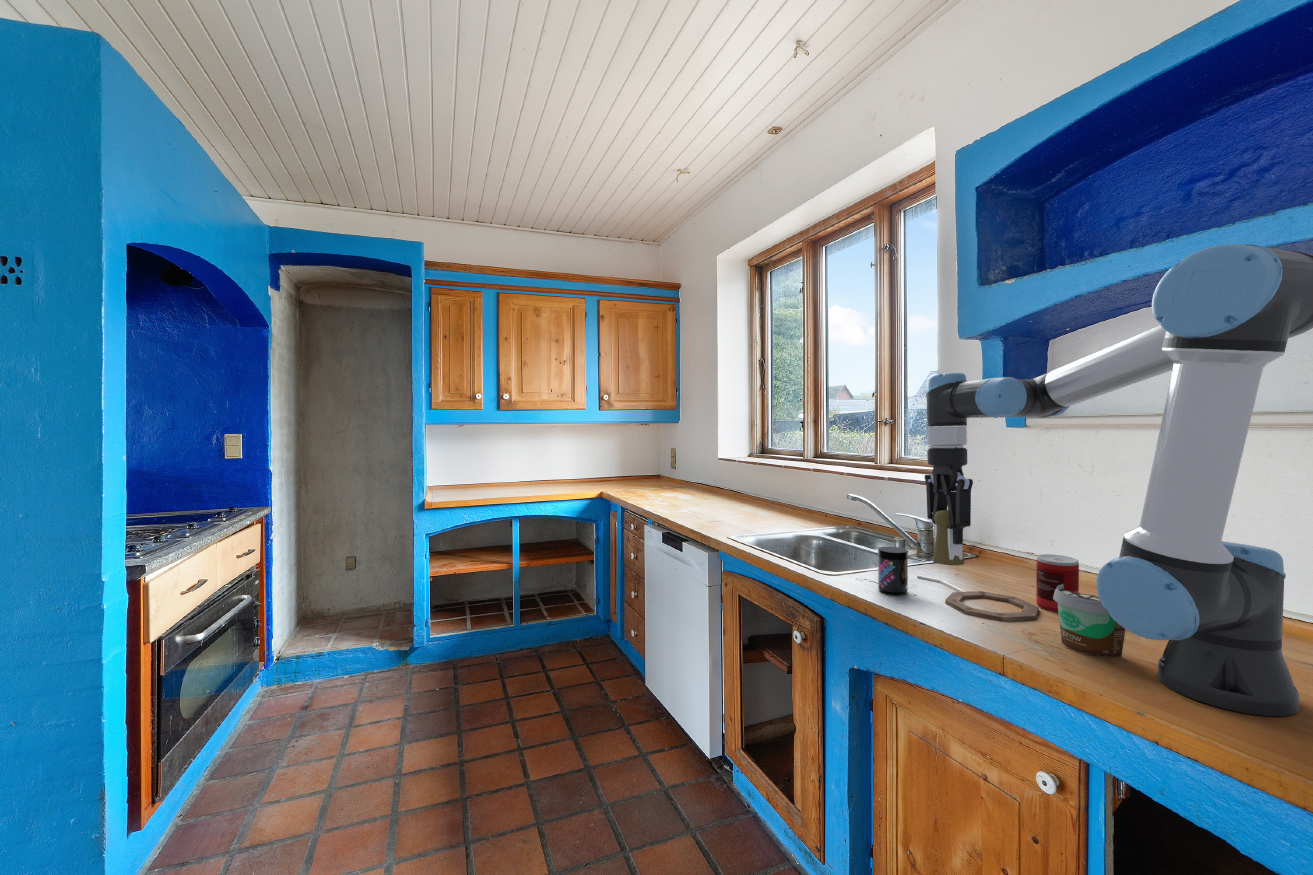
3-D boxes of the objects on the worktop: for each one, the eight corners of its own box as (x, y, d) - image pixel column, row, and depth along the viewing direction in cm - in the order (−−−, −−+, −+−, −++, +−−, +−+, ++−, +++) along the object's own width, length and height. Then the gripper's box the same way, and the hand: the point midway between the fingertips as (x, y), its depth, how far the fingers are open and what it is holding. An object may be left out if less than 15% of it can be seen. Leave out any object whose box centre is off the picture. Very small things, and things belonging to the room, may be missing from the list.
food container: (1036, 638, 107) (1037, 586, 106) (1059, 634, 109) (1060, 583, 108) (1107, 665, 95) (1108, 607, 95) (1131, 659, 97) (1132, 602, 97)
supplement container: (877, 586, 141) (877, 545, 140) (906, 589, 138) (907, 547, 138) (878, 594, 134) (878, 551, 134) (908, 597, 132) (909, 553, 132)
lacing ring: (1056, 618, 117) (1057, 614, 117) (980, 622, 116) (980, 618, 116) (1000, 593, 134) (1000, 590, 134) (932, 596, 132) (932, 592, 132)
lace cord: (967, 594, 134) (967, 591, 134) (950, 594, 133) (950, 592, 133) (931, 576, 149) (931, 574, 149) (916, 577, 148) (916, 575, 148)
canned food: (1073, 604, 126) (1073, 555, 126) (1082, 615, 119) (1083, 564, 118) (1032, 599, 129) (1033, 552, 129) (1039, 610, 122) (1040, 560, 122)
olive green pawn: (970, 565, 116) (969, 512, 116) (941, 565, 116) (940, 512, 116) (955, 558, 122) (954, 508, 122) (927, 558, 122) (926, 508, 122)
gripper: (991, 447, 110) (992, 565, 111) (940, 445, 127) (941, 547, 128) (954, 448, 110) (956, 566, 110) (908, 446, 127) (910, 548, 127)
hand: (948, 556), depth 119 cm, fingers closed on olive green pawn, 4 cm apart
